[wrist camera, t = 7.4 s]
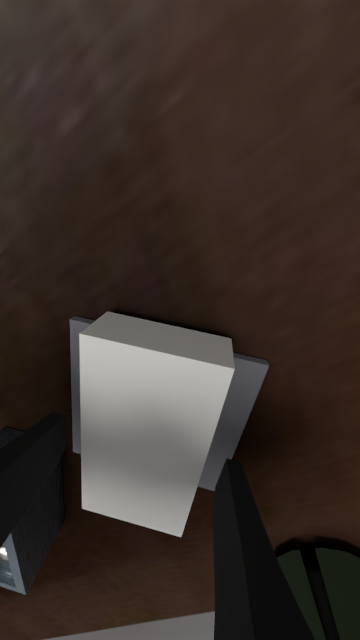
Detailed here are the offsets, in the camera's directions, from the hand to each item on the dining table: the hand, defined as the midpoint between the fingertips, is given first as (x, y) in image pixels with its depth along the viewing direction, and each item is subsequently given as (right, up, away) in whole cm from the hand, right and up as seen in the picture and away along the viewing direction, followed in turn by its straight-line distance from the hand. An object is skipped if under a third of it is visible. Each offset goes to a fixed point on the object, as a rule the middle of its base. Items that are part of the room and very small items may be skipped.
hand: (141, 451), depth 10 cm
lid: (0, 0, +1) cm, 1 cm away
